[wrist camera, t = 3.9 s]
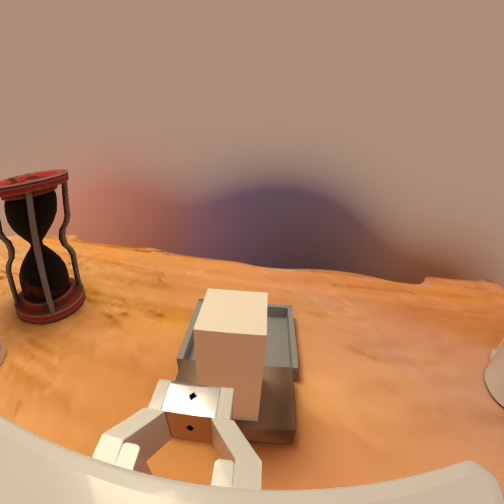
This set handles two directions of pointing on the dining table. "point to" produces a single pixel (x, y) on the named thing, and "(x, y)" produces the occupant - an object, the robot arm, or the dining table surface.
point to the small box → (2, 350)
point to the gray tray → (277, 343)
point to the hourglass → (40, 248)
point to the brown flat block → (262, 404)
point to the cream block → (233, 346)
